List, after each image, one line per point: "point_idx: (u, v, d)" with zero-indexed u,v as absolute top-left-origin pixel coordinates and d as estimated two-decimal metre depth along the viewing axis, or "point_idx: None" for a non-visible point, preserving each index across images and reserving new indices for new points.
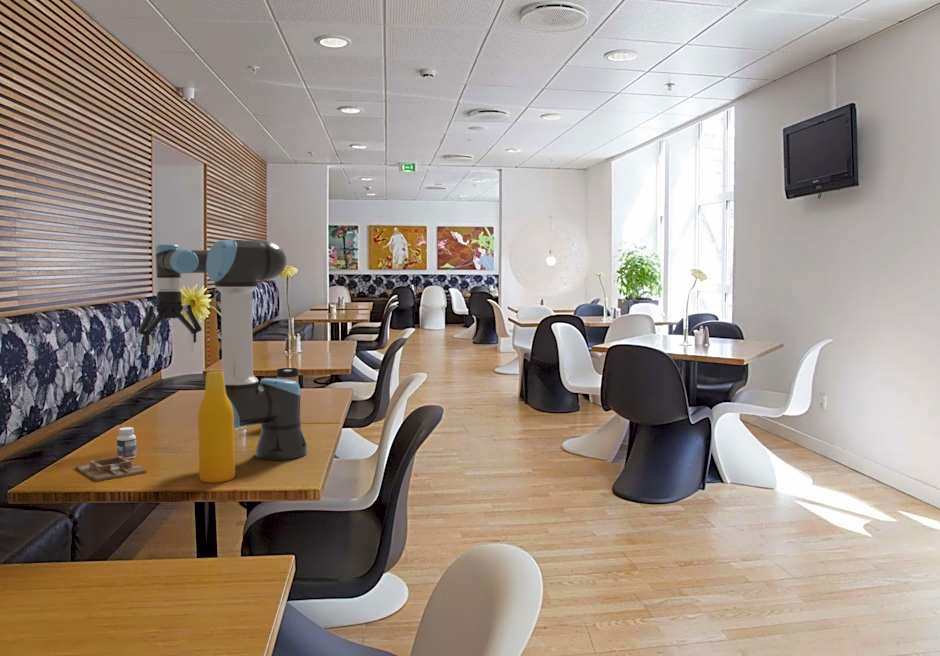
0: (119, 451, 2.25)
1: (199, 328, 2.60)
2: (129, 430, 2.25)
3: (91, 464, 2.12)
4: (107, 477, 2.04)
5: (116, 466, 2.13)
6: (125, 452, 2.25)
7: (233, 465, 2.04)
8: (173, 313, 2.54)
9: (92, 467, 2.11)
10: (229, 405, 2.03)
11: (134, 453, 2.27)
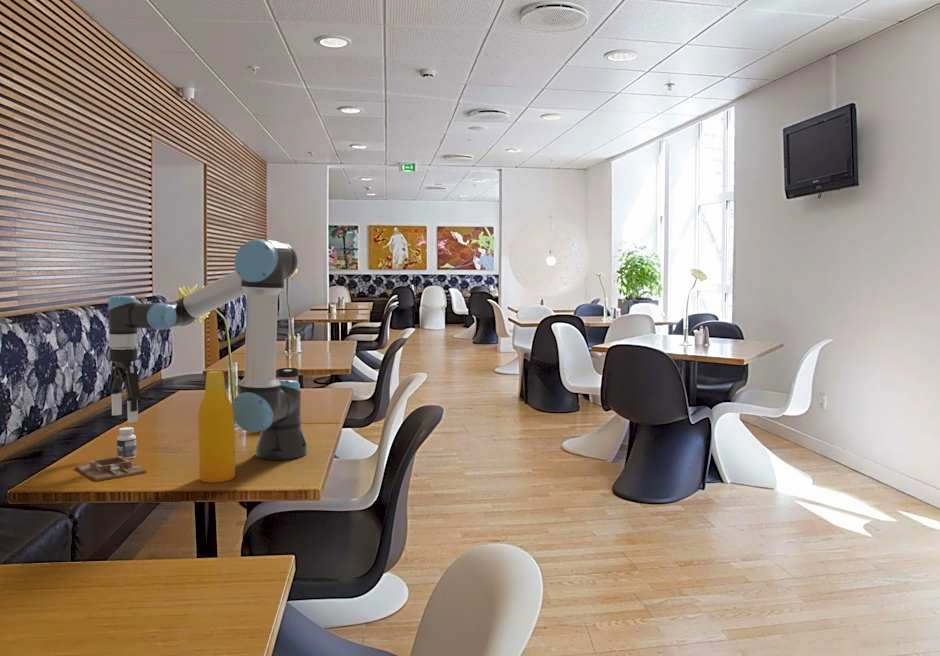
0: (119, 451, 2.25)
1: (131, 396, 2.18)
2: (129, 430, 2.25)
3: (91, 464, 2.12)
4: (107, 477, 2.04)
5: (116, 466, 2.13)
6: (125, 452, 2.25)
7: (233, 465, 2.04)
8: None
9: (92, 467, 2.11)
10: (229, 405, 2.03)
11: (134, 453, 2.27)
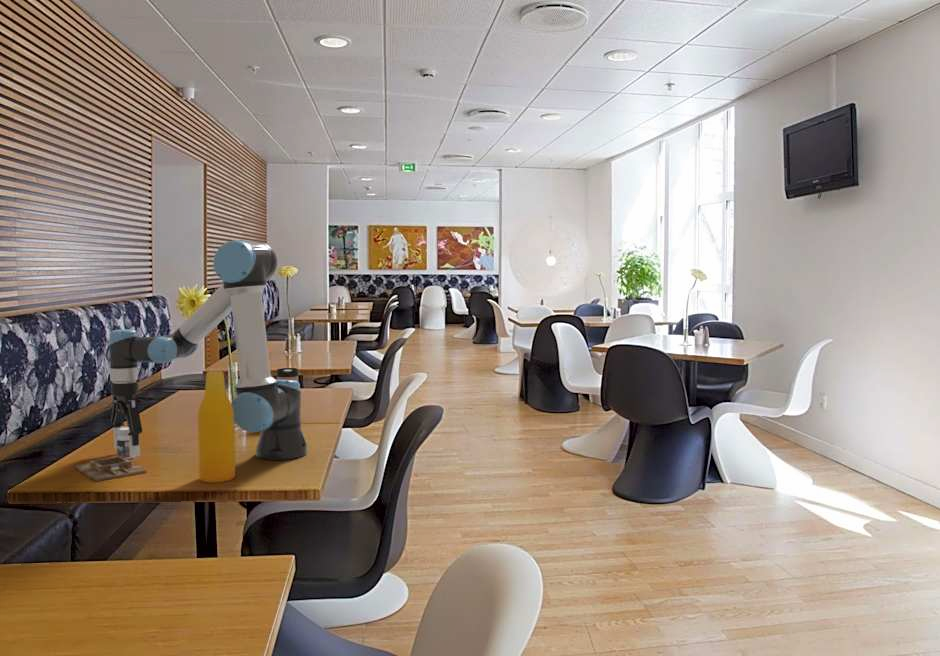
0: (119, 451, 2.25)
1: (132, 430, 2.19)
2: None
3: (91, 464, 2.12)
4: (107, 477, 2.04)
5: (116, 466, 2.13)
6: (125, 452, 2.25)
7: (233, 465, 2.04)
8: None
9: (92, 467, 2.11)
10: (229, 405, 2.03)
11: None
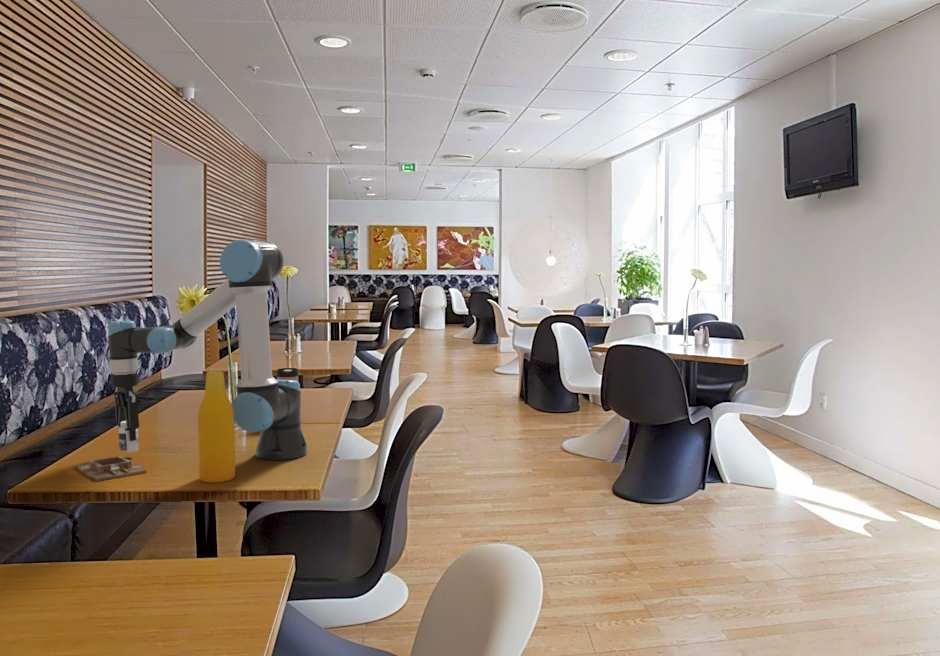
0: (121, 444, 2.25)
1: (129, 425, 2.21)
2: None
3: (91, 464, 2.12)
4: (107, 477, 2.04)
5: (116, 466, 2.13)
6: None
7: (233, 465, 2.04)
8: None
9: (92, 467, 2.11)
10: (229, 405, 2.03)
11: None
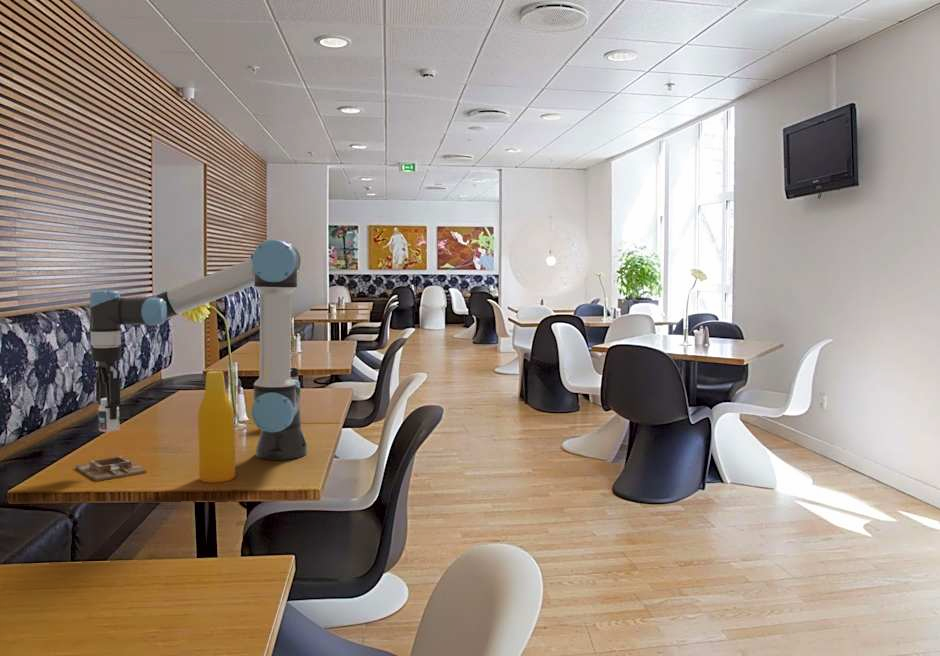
0: (100, 423, 2.09)
1: (110, 403, 2.06)
2: None
3: (91, 464, 2.12)
4: (107, 477, 2.04)
5: (116, 466, 2.13)
6: None
7: (233, 465, 2.04)
8: None
9: (92, 467, 2.11)
10: (229, 405, 2.03)
11: None
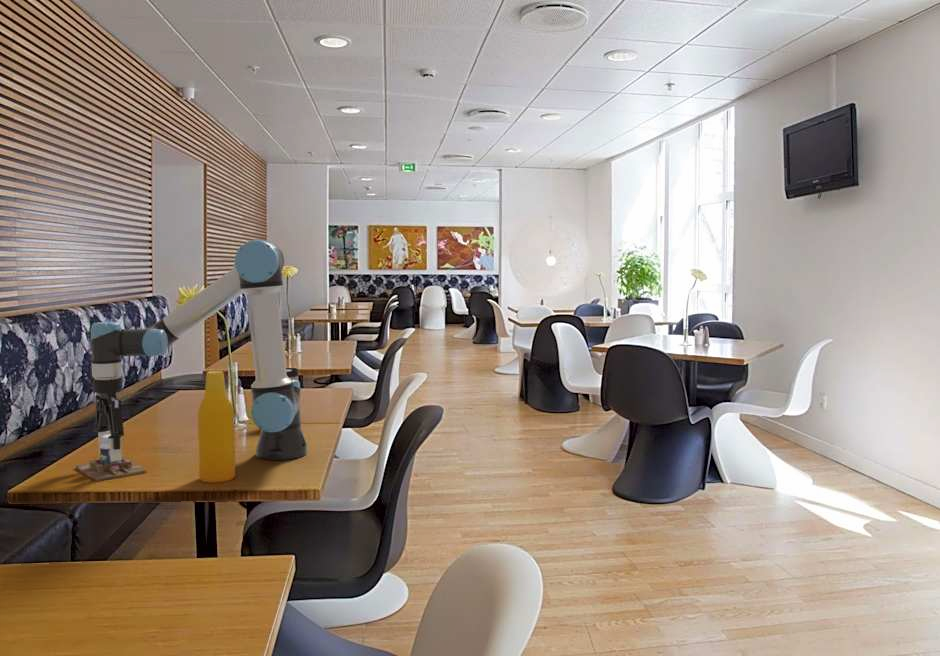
0: (102, 460, 2.10)
1: (113, 433, 2.06)
2: None
3: (91, 464, 2.12)
4: (107, 477, 2.04)
5: None
6: (109, 461, 2.10)
7: (233, 465, 2.04)
8: None
9: (92, 467, 2.11)
10: (229, 405, 2.03)
11: (119, 462, 2.12)
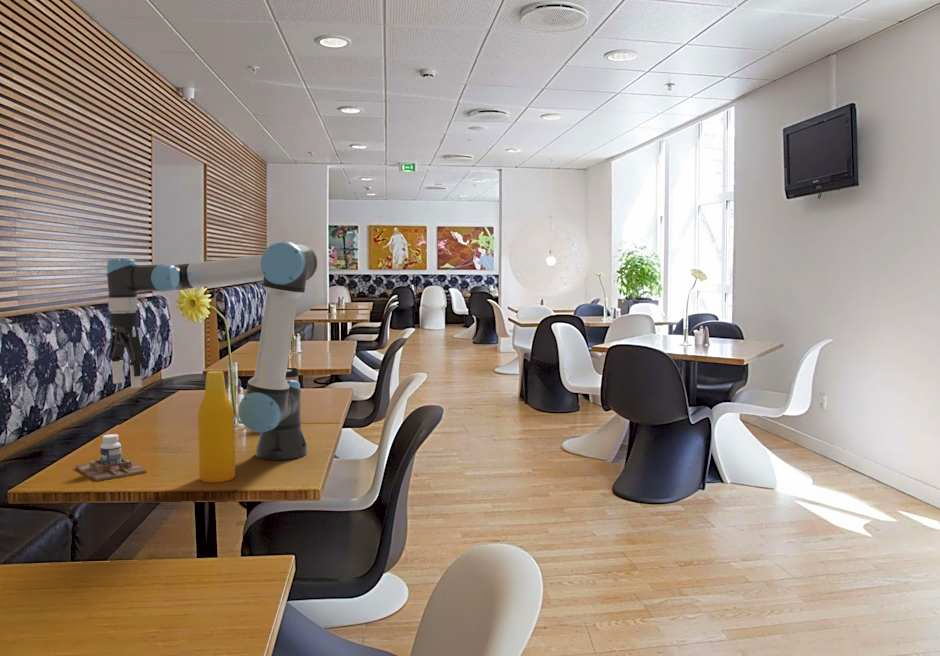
0: (103, 460, 2.10)
1: (134, 360, 2.12)
2: (114, 437, 2.11)
3: (91, 464, 2.12)
4: (107, 477, 2.04)
5: None
6: (109, 461, 2.10)
7: (233, 465, 2.04)
8: None
9: (92, 467, 2.11)
10: (229, 405, 2.03)
11: (119, 462, 2.12)
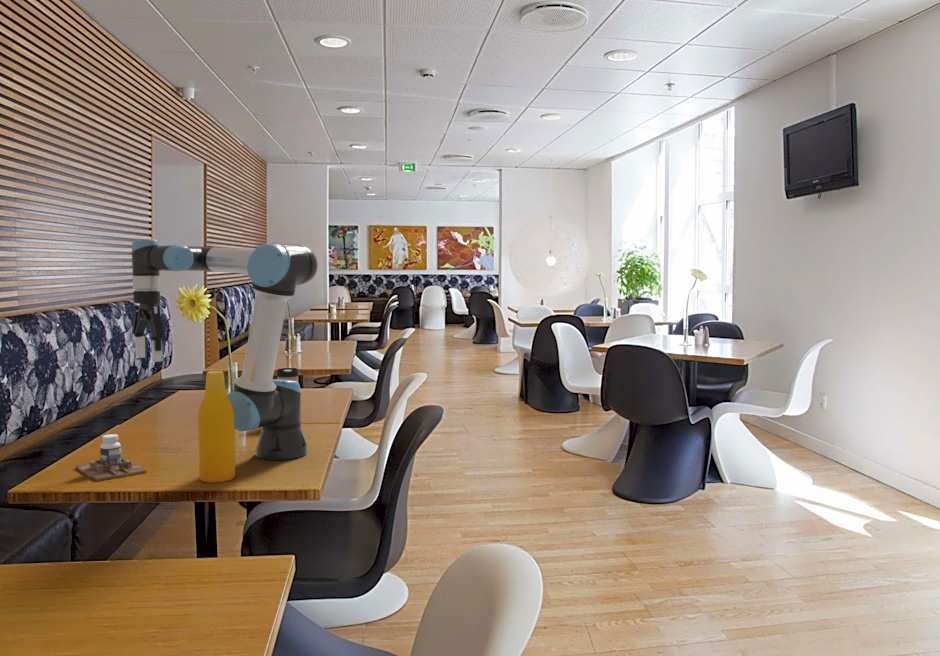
0: (103, 460, 2.10)
1: (155, 335, 2.24)
2: (113, 437, 2.11)
3: (91, 464, 2.12)
4: (107, 477, 2.04)
5: None
6: (109, 461, 2.10)
7: (233, 465, 2.04)
8: None
9: (92, 467, 2.11)
10: (229, 405, 2.03)
11: (119, 462, 2.12)
